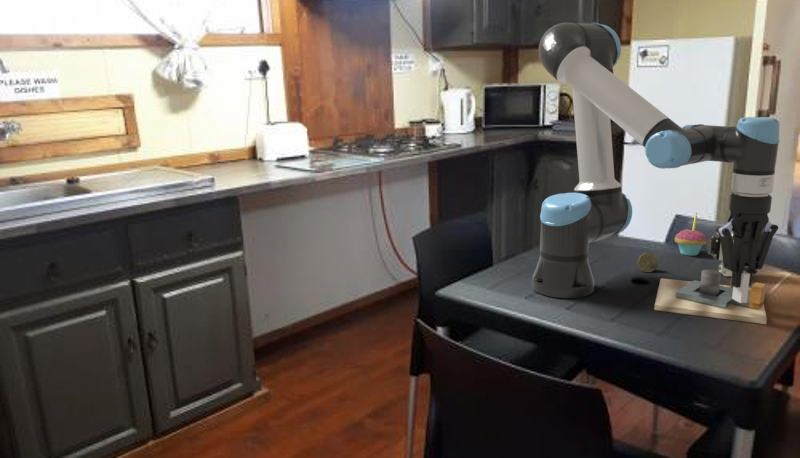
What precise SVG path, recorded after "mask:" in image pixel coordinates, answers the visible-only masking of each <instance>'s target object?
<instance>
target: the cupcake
mask: <svg viewBox="0 0 800 458" xmlns="http://www.w3.org/2000/svg"><path fill="white" fill-rule="evenodd" d="M697 214H698V213H697V212H696V213H695V215H694V216H693V217H694V219H693V224H692V229H683V230H681V231H679V232H678V233H675V236H674V243H677V245H678V249H679V253H680V254H681V255H683V254H684V256H689V257H691V256H694V257H695V256H697V255H698V256H699V253H700V251H701V248H702V247H703V246H704V245H707V239H708V237H707V236H706V235H705V233H703V232H702V231H700V230H697V229H696V227H697V226H696V224H697V218H698V215H697Z"/></svg>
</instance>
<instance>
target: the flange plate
mask: <svg viewBox="0 0 800 458" xmlns="http://www.w3.org/2000/svg"><path fill="white" fill-rule="evenodd" d="M700 284H701V280H695V279H694V280H692V281H691V283H689V284H687V285H686V286H684V287H683V288H681V289H679V290H678V291H676V294H675V297H679V298H683V299H687V300H692V301H696V302H700V303H705V304H709V305H713V306H718V307H722V308H727V307H728V306H729V305H731V304H737V305H741V306H746V307H750V308H755V309H760V308H761V307H762V306H763V305H764V306H765V304H764V303H765V296H766V289H767V284H766V283H761V282H758V281H757V282H754V283H753V284H751V286H750V288H751V295H750V297H747V303H739V302H737V301H735V300H733V299H732V294H733V288H730V287H725V286H720V288H719V294H721V295H719V296H718V297H716V296H711V295H707V294H702V293H698V292H700Z"/></svg>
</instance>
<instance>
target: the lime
mask: <svg viewBox="0 0 800 458" xmlns="http://www.w3.org/2000/svg"><path fill="white" fill-rule="evenodd" d="M637 265H638V268H639V269H641V271H642V272H644V273H652V272H653V271H655V270H657V268H658V265H659V262H658V258H657V256H656V255H655V254H653V253H650V252H644V253H642V254H641V255H640V256H639V257H638V260H637Z"/></svg>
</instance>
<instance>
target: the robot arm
mask: <svg viewBox="0 0 800 458" xmlns="http://www.w3.org/2000/svg"><path fill="white" fill-rule="evenodd" d="M621 53H622V44H621V40H620V38H619V36H618V34H617V33H616V31H615V30H614V29H612V28H611V27H610V26H608V25H606V24H601V23H597V22H560V23H557V24H555V25H553V26H552V27H550V28H548V29H547V30H546V31H545V32H544V33H543V35H542V36H541V38H540V40H539V45H538V58H539V61H540V63H541V65H542V67H543V68H544V69H545V70H546V71H547V73H549V75H550V76H551V77H553V78H554V79H555V80H556V81H557V82H559V83H560V84H562V85H565V84H566V85H568V86H570V88H571V90H572V102H573V103H572V105H573V114H574V115H573V116H574V126H575V139H576V140H575V141H576V151H577V152H576V154H577V165H578V176H579V178H578V179H579V181H578V184H577V185H576V186H575V187H574V189H573V191H574V192H566V193H557V194H553V195H550V196H548V197H547V198H545V199H544V200H543V202H542V203H541V210H540V214H539V215H540V216H539V219H540V224H539V225H540V227H539V228H540V229H539V231H540V234H539V239H540V240H539V259H538V262H537V264H536V267H535V269H534V273H533V275H532V278H531V288H532V290H533V291H534V292H536V293H538V294H540V295H543V296H547V297H552V298H560V299H575V298H576V299H577V298H583V297H587V296H589V295H591V294H593V293H594V291H595V280H594V279H595V278H594V276H593V272H592V269H591V265H590V262H589V247H590V243H593V242H597V241H601V240H603V239H610V238H613V237H615V236H617V235H619V234H620V233H622V232H624V231H625V230H626V229H627V228H628V227H629V225H630V224H631V220H632V217H633V206H632V202H631V200H630V198H627V194H625V193H623V189H622V188H623V187H622V184H621V183H620V182H619V181H618V180H616V178H615V167H614V153H613V141H612V139H613V137H612V126H611V121H613V122H614V123H615V124H616V125H617V126H619V127H620V128H621V129H622V130H623V131H624V132H626V134H627V135H629V136H630V137H631V138H633V139H634V140H635V141H636V142H637V143H639V144H640V145H641V146H643V148H645V149H644V152H645V156H646V158H647V161H648V163H650V164H651V165H652V166H653V167H654V168H659V169H664V170H665V169H677V168H680V167H682V166H689V165H692V164H693V165H694V164H698V163H703V162H704V163H705V162H719V163H728V164H729V163H730V164H731V163H732V165H733V166H732V167H733V168H732V176H731V185H730V190H731V191H732V193H730V195H729V205H728V209H729V212H730V216H729V217H728V218H727V223H726V224H724V225H722V226H719V225H718V226H717V227H716V233H718V234H719V236H720V241H721V249H722V256H723V260H722V262H723V264H724V268H726V269H728V270H730V271H732V277H731V278H732V279H731V278H730V283H731V285H732V286H733V294H732V299H733V300H735V301H737V302H739V303H747V297H748V288H750V287H751V286H752V281H753V275H756V274H758V271H757V270H761V269H763V267H764V264H765V261H766V258H767V255H768V252H769V249H770V246H771V244H772V241H773V238H774V236H775V235H776V233H777V232H778V230H779V225H777V224H775V223H772V222H771V221H769V220H770V218H769V215H768V214H769V213H770V212H771V209H772V200H773V197H772V195H771V194H772V193H773V192H774V191H773V190H774V184H775V183H774V182H775V173H776V165H777V157H778V149H779V144H780V126H781V124H780V121H779V120H778V119H777V118H774V117H769V116H767V117H764V116H763V117H762V116H749V117H741V118H739V119H738V121H737V124H736V125H735V126H723V125H709V124H701V123H698V124H687V125H684V126H683V127H682V126H680V125H679V124H677V123H676V122H675V121H674V120H672V119H671V118H669V116H667V115H666V114H665V113H663V111H661V110H660V109H658V108H657V106H654V105H653V104H652V103H651V102H650V101H648V100H647V99H646V98H644V97H643V96H642V95H640V94H639V93H638V92H637V91H635V90H634V89H633V88H631V87H630V86H629V85H628V84H626V83H625V82H624V81H623V80H621V79H620V78H619V77H617V75H615V74H614V67H615V66H616V65H617V63H618V60H619V59H620V57H621ZM732 234H733V238H732ZM733 240H734V244H733Z"/></svg>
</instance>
